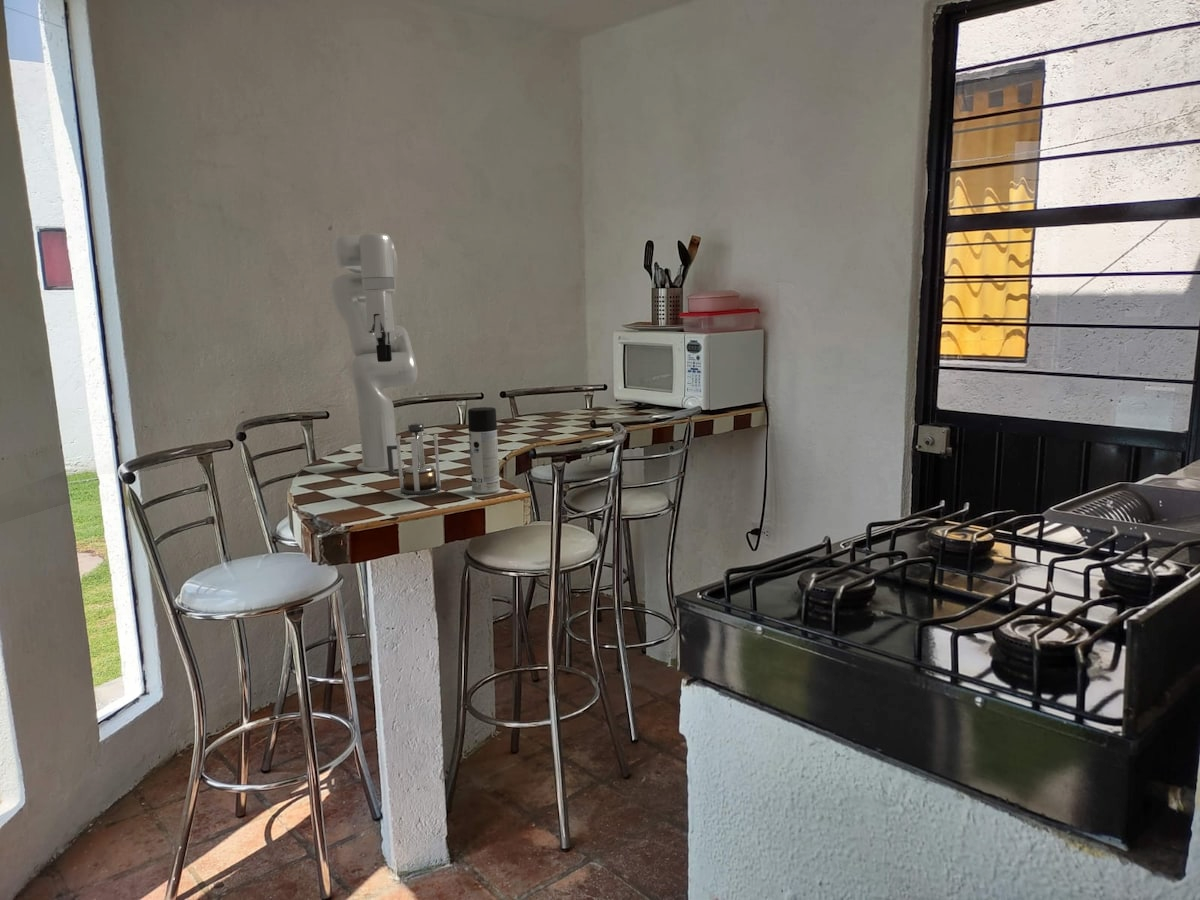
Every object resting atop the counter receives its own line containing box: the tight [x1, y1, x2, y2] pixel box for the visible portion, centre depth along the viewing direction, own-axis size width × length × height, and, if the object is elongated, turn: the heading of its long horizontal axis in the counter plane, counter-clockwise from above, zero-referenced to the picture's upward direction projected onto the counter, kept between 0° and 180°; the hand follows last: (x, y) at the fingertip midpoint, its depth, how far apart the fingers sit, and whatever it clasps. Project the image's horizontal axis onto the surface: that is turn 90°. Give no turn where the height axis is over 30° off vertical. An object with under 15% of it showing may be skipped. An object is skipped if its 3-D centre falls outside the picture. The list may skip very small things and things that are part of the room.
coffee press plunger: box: [403, 422, 435, 473], centre depth 209 cm, size 7×7×11 cm
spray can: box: [467, 406, 501, 495], centre depth 207 cm, size 7×7×20 cm
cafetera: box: [387, 431, 442, 496], centre depth 210 cm, size 10×12×14 cm
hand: (384, 361), depth 214 cm, fingers closed
